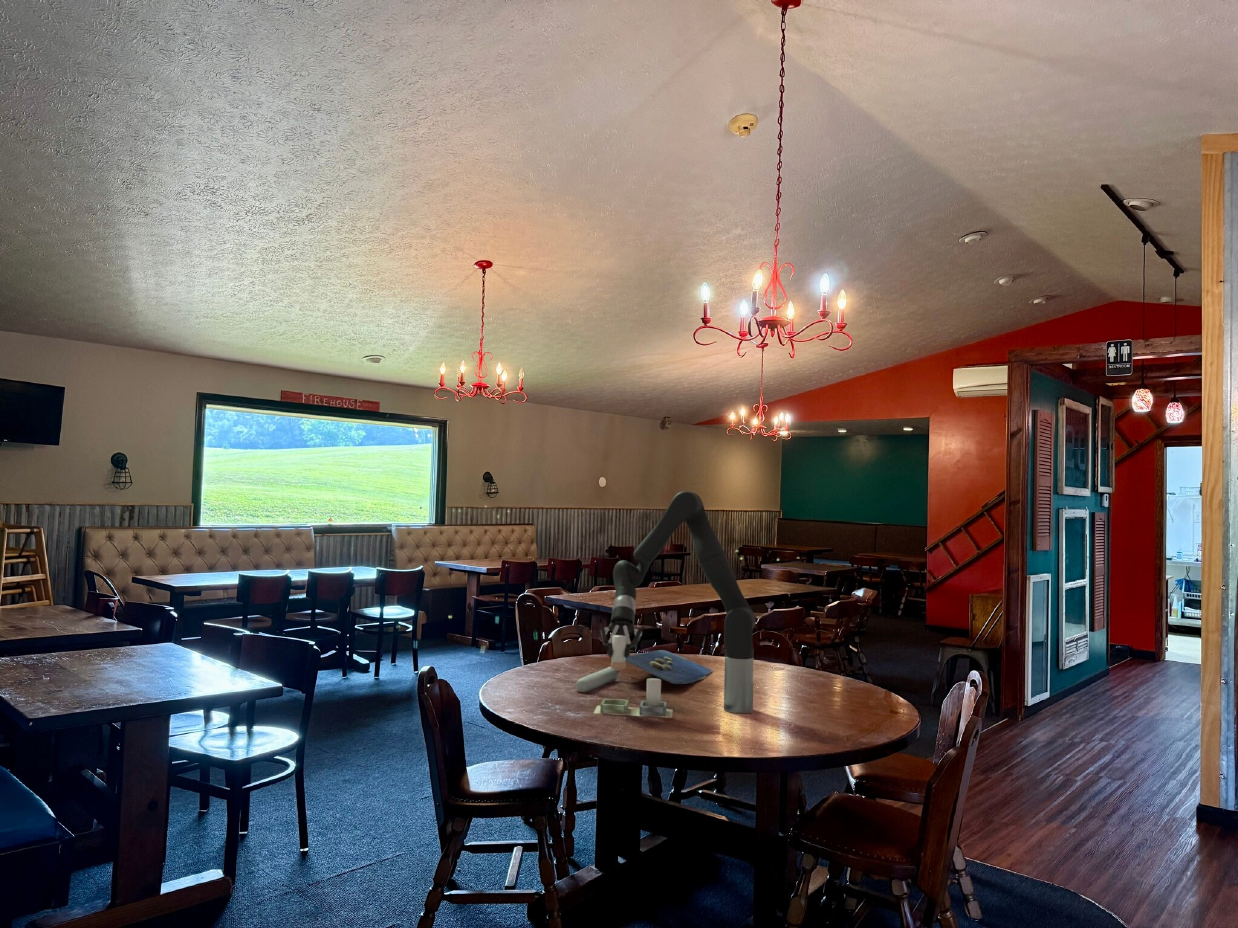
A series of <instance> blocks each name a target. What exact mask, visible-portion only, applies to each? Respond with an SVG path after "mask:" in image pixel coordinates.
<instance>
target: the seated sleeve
mask: <svg viewBox="0 0 1238 928" xmlns="http://www.w3.org/2000/svg"><path fill="white" fill-rule="evenodd" d="M661 690H662V679H661V678H657V677H656V678H652V677H651V678H650V677H649V678H647V679H646V692H645V693H646V697H645V698H646V699H645V701H646V706H647V707H661V706H660V702H661V696H662V694H661V693H662V691H661Z"/></svg>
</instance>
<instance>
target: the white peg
mask: <svg viewBox="0 0 1238 928" xmlns="http://www.w3.org/2000/svg"><path fill="white" fill-rule="evenodd" d="M626 637H627V636H625V635H613V638H612V657H611V662H610V663H611V664H610V667H611V668H612V669H616V670H617V671H619V670H620V671H621V670H626V667H627V662H626V658H625V648H626Z"/></svg>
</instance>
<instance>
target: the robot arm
mask: <svg viewBox="0 0 1238 928" xmlns="http://www.w3.org/2000/svg"><path fill="white" fill-rule="evenodd" d="M684 522H685V524H686V526H687V528H688V530H689V532H690V534H691V537H692V542H693V547H694V553H695V555H696V559H697V561H698V564H699V566H700V567H701V570H702V572H703V574H704V576H705V578H706V580H707V581H708V583H709V584H710V586H711V587H712V588H713V589H714V591H715V592H716V593H717V595H718V597H719V598H720V600H721V603H722V605H723V607H724V611H725V613H726V615H725V618H724V624H723V630H724V631H723V648H724V680H723V681H724V682H723V683H724V684H723V710H724V711H726V712H728V713H732V714H733V713H734V714H750V713H751V714H752V713H753V712H754V683H755V682H754V654H755V653H754V652H755V651H754V646H753V645H754V644H753V635H754V634H753V633H754V631H753V630H754V628H755V626H756V615H755V614H754V611H753V610H752V608H751V607H750V605H749V603H748V601H747V600H746V598H745V596H744V595H743V593H742V590H741V588H740V586H739V583H738V582H737V579H736V575H735V573H734V571H733V569H732V566H731V564H730V562H729V558H728V556H727V555H726V553H725V550H724V549H723V546H722V544H721V543H720V541H719V538H718V536H717V535H716V533H715V531H714V530H713V528H712V526H711V524H710V520H709V518H708V516H707V512H706V509H705V506H704V503H703V501H702V498H701V497H700V496H699V495H698V494H697V493H696V492H694V491H689V490H688V491H687V490H684V491H680V492H677V494H675V495H674V497H673V499H671V502H670V503H669V505H668V507H667V509H666V511H665V512H664V513H663V515H662V516H661V518H660V519H659V521H658V522H657V523H656V525H655V526H654V527H653V528H652V529H651V531H650V532H649V533H648V534H647V535H646V537H645V538H644V539H643V540H642V541H641V542H640V544H638V546H637V547H636V548H635V550H634V551H633V552H632V553H633V555H632V556H633V557H634V559H635V560H636V561H637V562H638V564H637V566H636V565H634V564H633V563H631V562H629V561H627V560H624V559H623V560H619V561H617V563H616V564H615V565H614V568H613V571H612V577H613V584H614V589H615V594H614V601H613V604H612V610H611V618H610V622H609V623H610V624H609V625H608V626H606V627H604V626H603V625H602V626H600V634H601V639H602V644H603V646H605V647H607V651H606V652H607V656H608V657H609V658H612V638H613V635H625V636H627V637H626V648H625V658H627V656H628V657H629V656H631V648H634V649H635V648H637V646H638V644H639V643H640V640H641V638H642V635H643V628H635V626H634V625H635V616H636V609H637V608H636V600H637V589H636V588H637V587H638V586H640V585H641V583H642V582H643V580H644V579H645V575H646V573H647V571H648V570H649V568H650V566H651V564H652V563H653V561H654V560H656V558H657V557H658V556H659V554H660V553H661V552H662V551H663V550H664V548H665V546H666V545H667V543H668V541H669V539H670V538H671V537H672V535H673V534H674V532H676V530H677V529H678V527H680V526H681V525H682V524H683V523H684ZM608 632H609V633H610V638H609V640H608V639H607V634H608ZM633 634H634V638H633V640H632V641H631V639H630V637H631V636H632V635H633Z"/></svg>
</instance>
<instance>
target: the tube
mask: <svg viewBox="0 0 1238 928" xmlns="http://www.w3.org/2000/svg"><path fill="white" fill-rule="evenodd" d="M618 671H619V670H617V669H612V668H611V666H608V667H606V668H604V669H601V670H598V671H596V672H593V673H591V674H588V675H585V676H584V677H581V678H579V679H578V680H577V681H576V683H575V686H576V687H575V688H576V690H577V691H578V692H579V693H587V692H590V691H592V690H595V689H598V688H599V687H601V685H602V686H604V685H607V684H609V683H611V681H612V682H614V681H616V680H617V678H618V676H619V673H618ZM608 682H609V683H608ZM606 683H607V684H606ZM594 688H595V689H594ZM589 690H590V691H589Z"/></svg>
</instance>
